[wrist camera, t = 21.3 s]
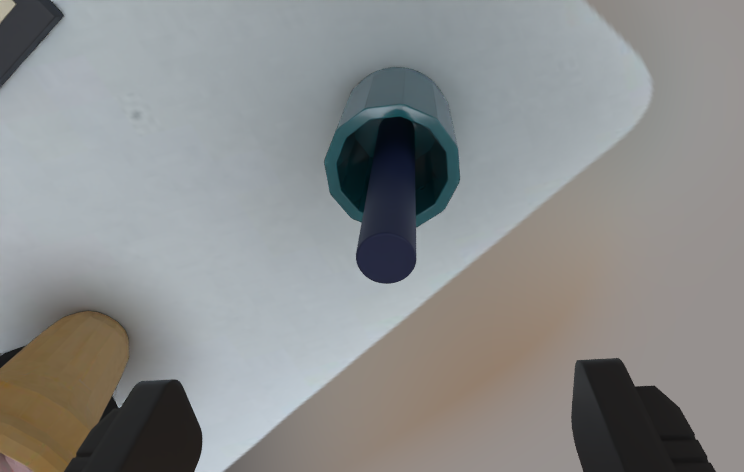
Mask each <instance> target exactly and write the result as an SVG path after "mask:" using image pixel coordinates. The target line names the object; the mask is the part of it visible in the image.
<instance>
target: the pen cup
mask: <svg viewBox="0 0 744 472" xmlns="http://www.w3.org/2000/svg"><path fill="white" fill-rule="evenodd" d="M392 117H403V118H405V119H408V120H410V121H411V122H412V123H413V126H414V130H415V201H416V227H418V226H420V225H421V224H423V223H425V222H426V221H428V220H429V219H431V218H433V217H434V216H436V215H437V214H439V213H441V212H442V211H443V210H444V209H445V208H446V206H447V204H448V202H449V201H450V199H451V197H452V195H453V193H454V191H455V190H456V188H457V186H458V184H459V182H460V169H459V152H458V145H457V141H456V136H455V132H454V127H453V123H452V118H451V114H450V109H449V105H448V102H447V101H446V99H445V98H444V96H443V94H442V92H441V90H440V89H439V88H438V86H437V85H436V84H435V83H434V82H433V81H432V80H431V79H430V78H428V77H427V76H425V75H424V74H422V73H420V72H418V71H415V70H413V69H409V68H403V67H391V68H385V69H382V70H379V71H376V72H374V73H372V74H370V75H369V76H367V77H366V78H364V79H363V80H362V81H361V82H360V83H359V84H358V85H357V86H356V87H355V88H353V90H352V92H351V94H350V97H349V99H348V101H347V104H346V106H345V109H344V111H343V114H342V116H341V119H340V121H339V124H338V126H337V129H336V131H335V134H334V136H333V139H332V141H331V144H330V147H329V149H328V152H327V154H326V157H325V160H324V165H325V170H326V175H327V181H328V186H329V191H330V193H331V195H332V197H333V198H334V199H335V200H336V201H337V202H338V204H339V205H340V206H341V207H342V208H343V209H344V210H345V212H346V213H347V214H348V215H349V216H350V217H351V218H352V219H354V220H357V221H359V222H362V219H363V213H364V207H365V202H366V196H367V191H368V185H369V180H370V174H371V168H372V163H373V157H374V152H375V146H376V140H377V135H378V129H379V126H380V123H381V122H382V121H383V119H385V118H392Z"/></svg>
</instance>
